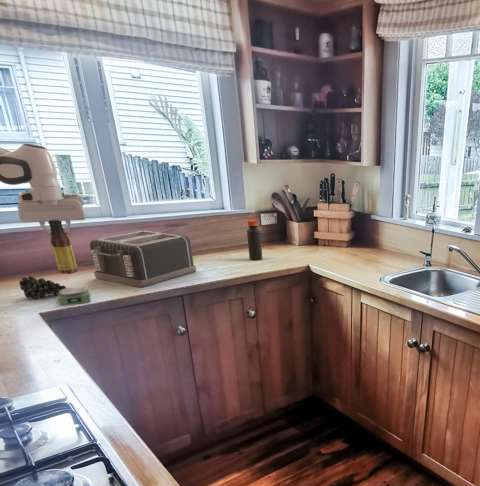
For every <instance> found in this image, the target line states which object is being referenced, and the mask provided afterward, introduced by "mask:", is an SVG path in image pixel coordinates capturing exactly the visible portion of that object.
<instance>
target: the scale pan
mask: <svg viewBox="0 0 480 486" xmlns="http://www.w3.org/2000/svg"><path fill="white" fill-rule="evenodd" d="M87 288H88V287H87V286H71V287H66V288H65V289H62V290H60V291H59V293H60V295H64V296H72V295H79V294H83V293H85V292H87V291H88V290H87Z"/></svg>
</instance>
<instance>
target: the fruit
mask: <svg viewBox="0 0 480 486" xmlns="http://www.w3.org/2000/svg"><path fill="white" fill-rule="evenodd" d="M18 283H19V288H20V290H21V291H23V293H24V296H25V298H27V299H30V298H31V299H35V300H39V299H41V298H45V297H46V296H47V295H48V296H50V295H52V296H58V295H59V291H60V290H62V289H65V288H67V287H66V286H65V285H61V284H60V283H58V282H54V281H52V280H50V279H47V280H46V279H45V278H43V277H41V278H35V276H31V275H29V276H28V277H25V276H24V277H22V278H21V280H19V281H18Z"/></svg>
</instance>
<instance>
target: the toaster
mask: <svg viewBox="0 0 480 486" xmlns="http://www.w3.org/2000/svg"><path fill="white" fill-rule="evenodd" d="M89 249H90V254H91V257H92V262H93V266H94V270H95V271H93V275H94V277H95V279H98V280H102V281H107V282H112V283H117V284H121V285H125V286H126V285H127V286H131V287H135V288H141V289H142V288H145V287H149V286H151V285H155V284H159V283H161V282H166V281H168V280H171V279H175V278H178V277H182V276H185V275H189V274H191V273H195V272H196V271H197V266H196V265H194V260H193V259H194V258H193V252H192V251H193V250H192V245H191V240H190V238H189V237H188V236H186V235H183V234H176V233H169V232H162V231H155V230H154V231H153V230H139V231H134V232H129V233H123V234H117V235H112V236H105V237H101V238H98V239H94V240H91V241H90V242H89Z"/></svg>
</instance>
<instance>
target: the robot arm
mask: <svg viewBox="0 0 480 486" xmlns="http://www.w3.org/2000/svg"><path fill="white" fill-rule="evenodd" d="M0 182H1V183H3V184H6V185H10V186H17V185H22V184H29V187H30V190H29V189H28V190H26V191H23V192H20V193H18V194H17V199H18V201H19V202H18V203H17V212H18V213H17V214H18V218H19V221H20V222H21V223H23V224H25V223H26V224H28V223H29V224H30V223H39V226H40V227H41V228H42V229H43V230H44V231H45V235H46V236H47V235H51V228H48V227H47V226H46V223H48V222H49V220H59V221H61V222H65V224H66V227H63V231H64V233H65V234H66V235H67V234H70V226H71V224H72V223H71V222H72V221H74V222H75V221H85V220H86V218H87V214H86V212H85V211H86V210H85V209H84V204H85V203H84V199H83V196H81V195H80V194H77V193H63V191H62V188H61V184H60V181H59V179H58V171H57V167H56V164H55V161H54V158H53V155H52V153H51V152H50V150H49V149H48V148H47V147H45V146H42V145H38V144H34V143H33V144H32V143H22V144H21V145H20V146H19V147H18V148H16V149H14V150H12V151H10V150H7V149H5V148H2V147H0Z"/></svg>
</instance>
